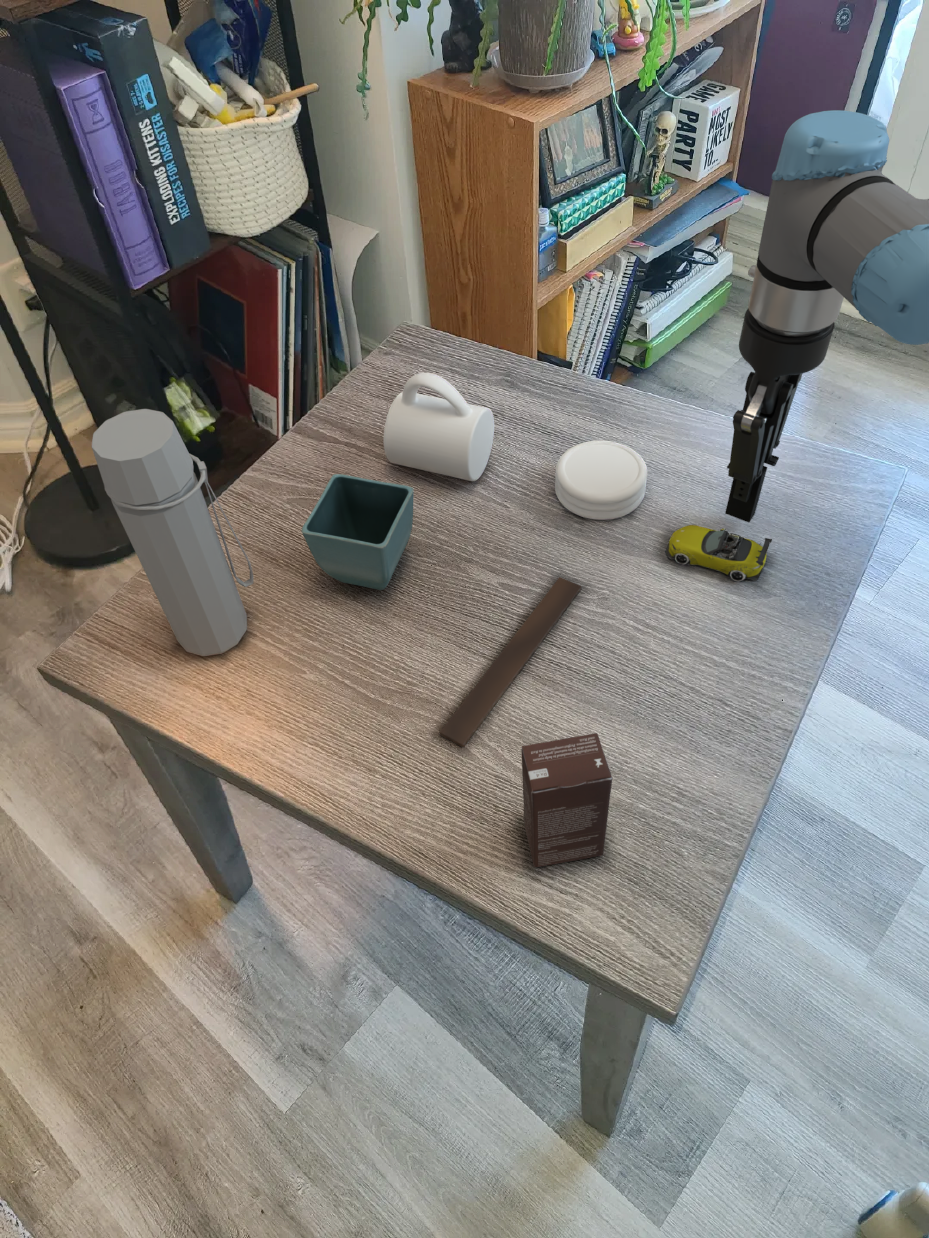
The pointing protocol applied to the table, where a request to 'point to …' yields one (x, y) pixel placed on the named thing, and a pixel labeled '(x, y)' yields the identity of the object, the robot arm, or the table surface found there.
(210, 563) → the water bottle
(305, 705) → the table surface
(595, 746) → the box
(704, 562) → the sports car
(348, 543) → the flower pot
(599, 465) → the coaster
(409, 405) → the mug
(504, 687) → the ruler
